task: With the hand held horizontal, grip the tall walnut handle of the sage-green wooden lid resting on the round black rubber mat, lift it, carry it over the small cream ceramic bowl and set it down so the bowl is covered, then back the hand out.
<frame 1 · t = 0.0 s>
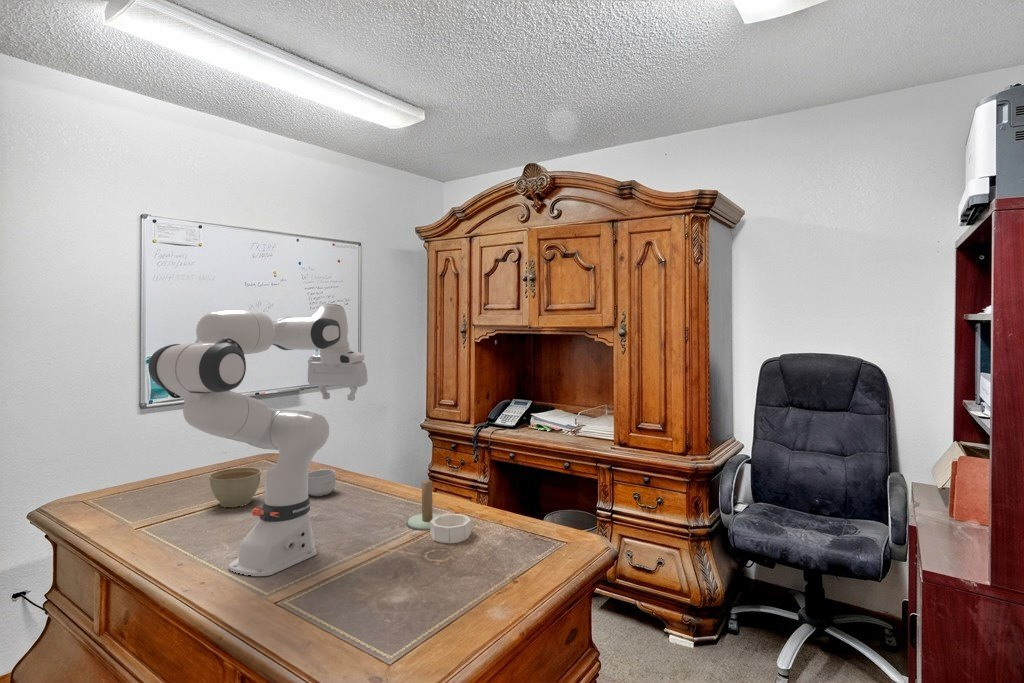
hand: (338, 399, 170), 39 cm above the table, tool pointing down, fingers open, 8 cm apart
bowl: (450, 537, 158), on the table
mat: (427, 524, 168), on the table
planter bowl: (236, 504, 189), on the table
teacup: (321, 493, 201), on the table
lid: (427, 522, 168), point 1 cm above the table, touching mat
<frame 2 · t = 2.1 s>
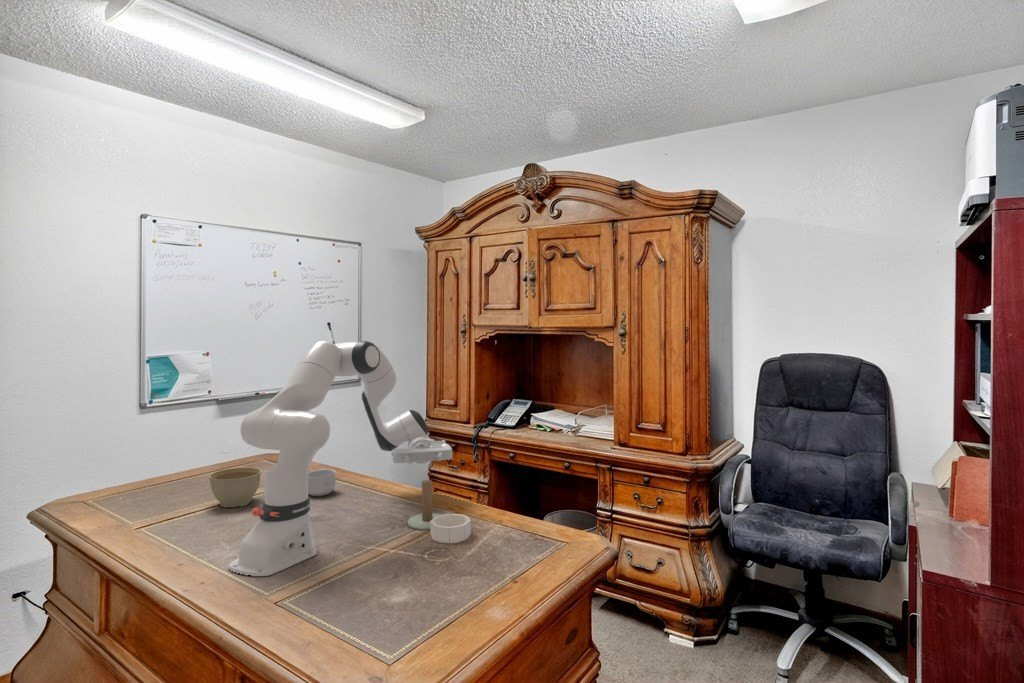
hand: (424, 459, 180), 17 cm above the table, tool horizontal, fingers open, 8 cm apart
nothing on the table moved.
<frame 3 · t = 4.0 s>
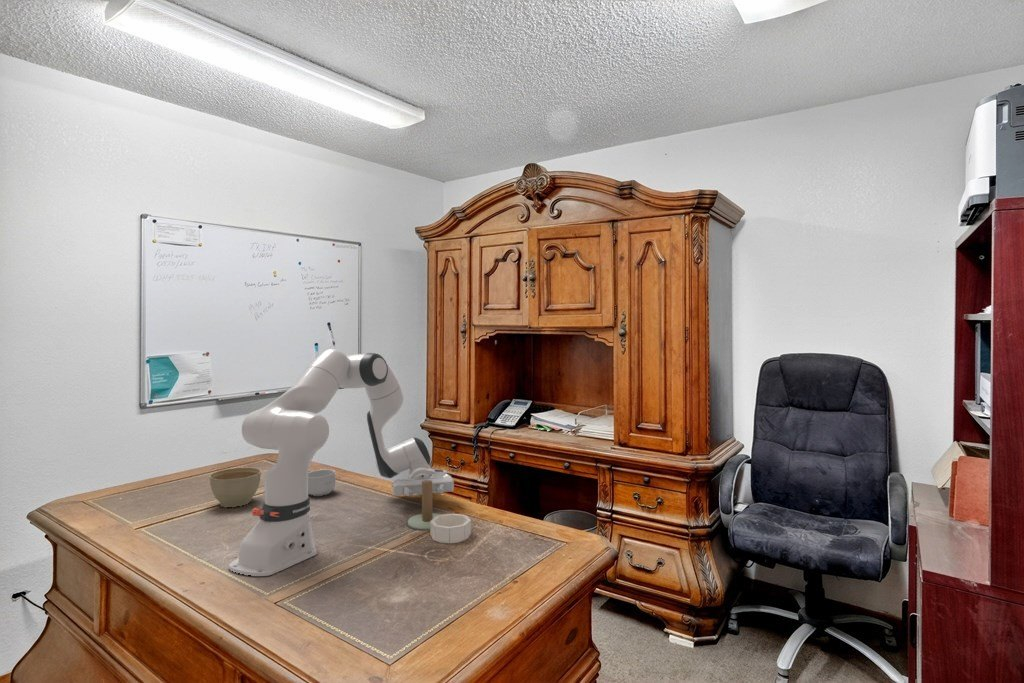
hand: (424, 492, 175), 8 cm above the table, tool horizontal, fingers open, 8 cm apart
nothing on the table moved.
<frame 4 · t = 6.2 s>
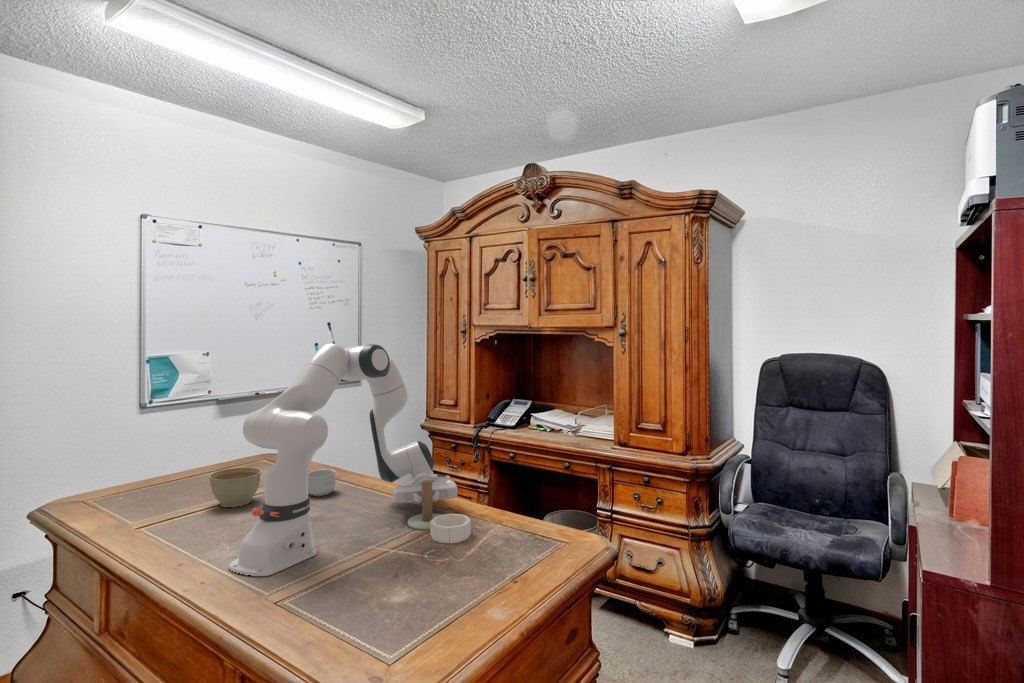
hand: (427, 499, 167), 8 cm above the table, tool horizontal, fingers closed on lid, 3 cm apart
lid: (427, 522, 168), point 1 cm above the table, touching gripper, mat
everything else where it was.
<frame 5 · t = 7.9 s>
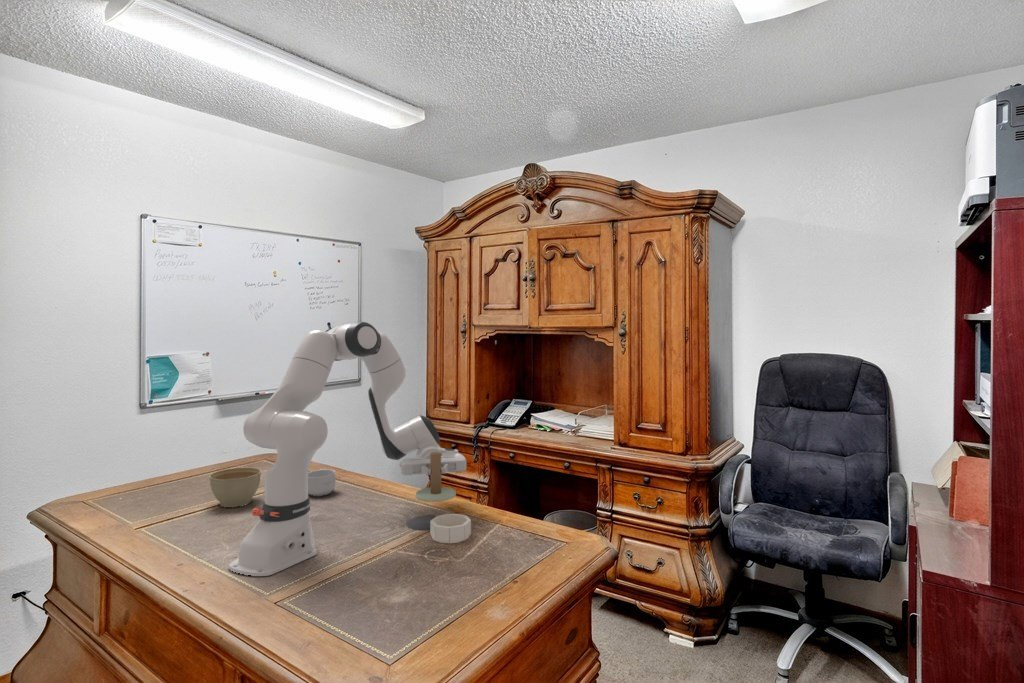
hand: (436, 471, 163), 18 cm above the table, tool horizontal, fingers closed on lid, 3 cm apart
lid: (435, 495, 164), point 10 cm above the table, touching gripper
everything else where it was.
when the fingers open (13 cm above the table, at t = 9.7 s): lid stays where it is, resting on bowl.
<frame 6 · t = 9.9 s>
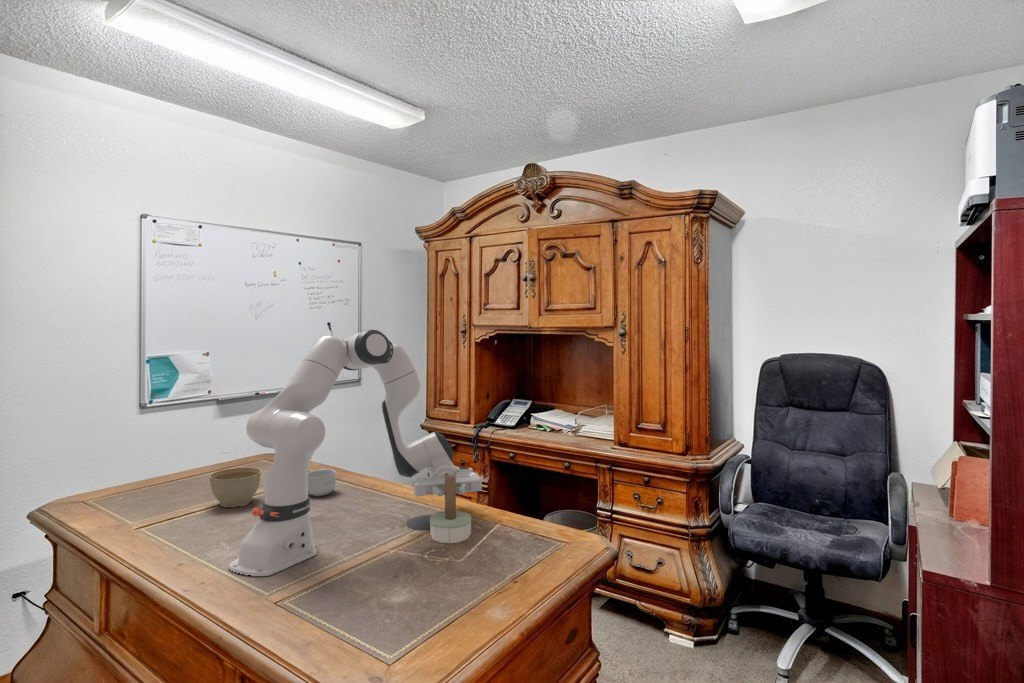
hand: (450, 492, 157), 13 cm above the table, tool horizontal, fingers open, 5 cm apart
lid: (450, 520, 158), point 5 cm above the table, touching bowl
everything else where it was.
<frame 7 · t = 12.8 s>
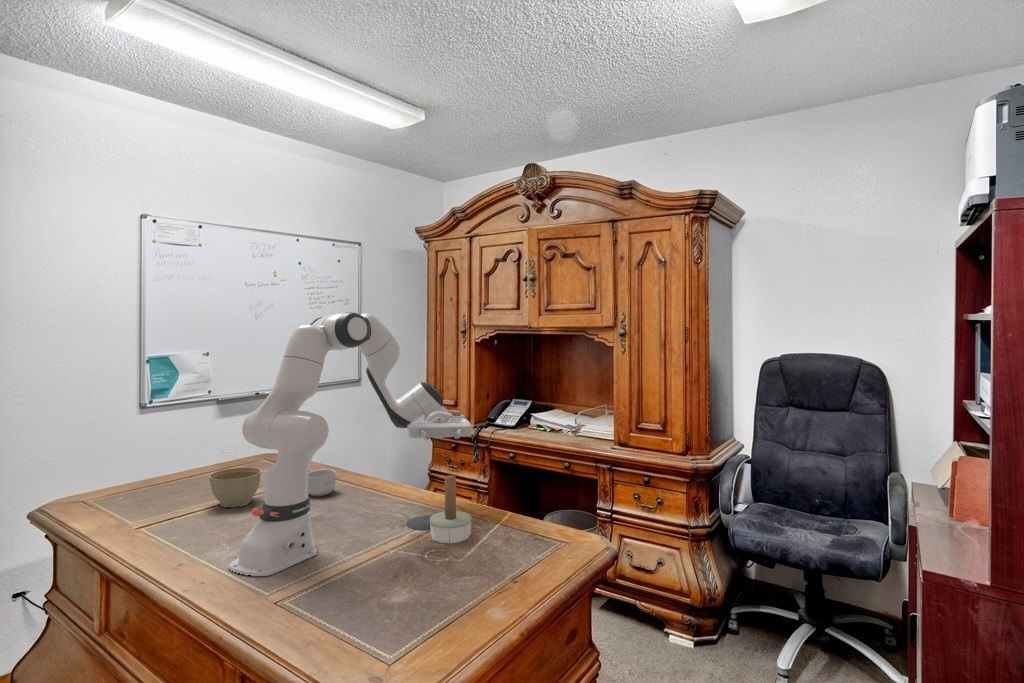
hand: (442, 436, 169), 27 cm above the table, tool horizontal, fingers open, 8 cm apart
nothing on the table moved.
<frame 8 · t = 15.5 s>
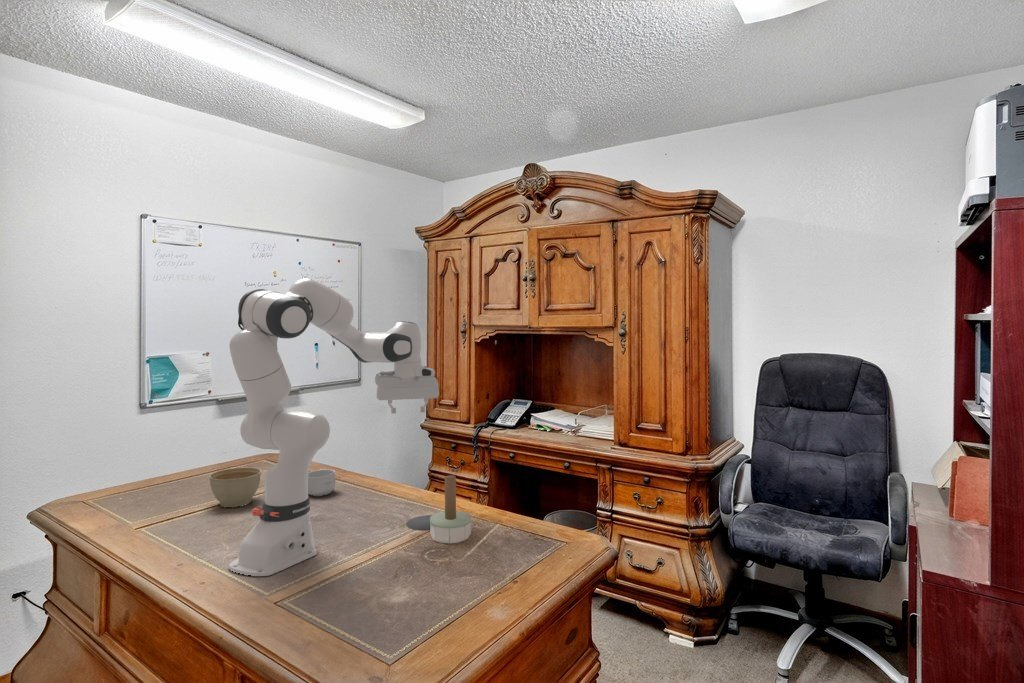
hand: (408, 412, 179), 33 cm above the table, tool pointing down, fingers open, 8 cm apart
nothing on the table moved.
at the end: lid 0.0 cm off-centre on the bowl, point 5.0 cm above the bowl's base; lid tilted 0°; the gripper is holding nothing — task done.
